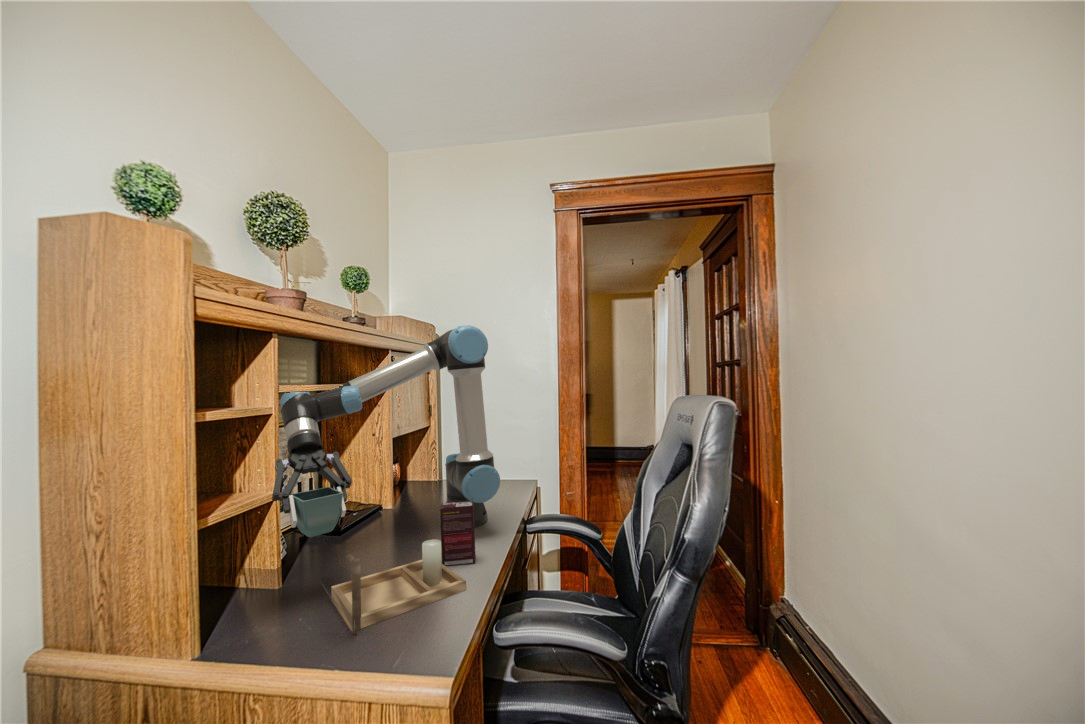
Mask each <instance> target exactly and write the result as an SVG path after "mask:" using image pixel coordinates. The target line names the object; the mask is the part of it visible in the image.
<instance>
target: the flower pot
mask: <svg viewBox="0 0 1085 724" xmlns="http://www.w3.org/2000/svg"><path fill="white" fill-rule="evenodd" d="M290 495H293V499H294V505H295V511H296V516H297V524H296V528H298V530H299V532H300V533H302V535H305V536H306V537H307V538H313V537H318V536H320V535H324V534H328V533H330V532H332V531H334V529H335V527H336V526H337V524H338V522H339V519H340V518H341V516H340V513H341V506H342V497H343V492H340V491H338V490H336V488H332V487H330V486H326V487H321V488H316V489H311V490H306V491H300V492H295V493H291V494H290Z"/></svg>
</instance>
